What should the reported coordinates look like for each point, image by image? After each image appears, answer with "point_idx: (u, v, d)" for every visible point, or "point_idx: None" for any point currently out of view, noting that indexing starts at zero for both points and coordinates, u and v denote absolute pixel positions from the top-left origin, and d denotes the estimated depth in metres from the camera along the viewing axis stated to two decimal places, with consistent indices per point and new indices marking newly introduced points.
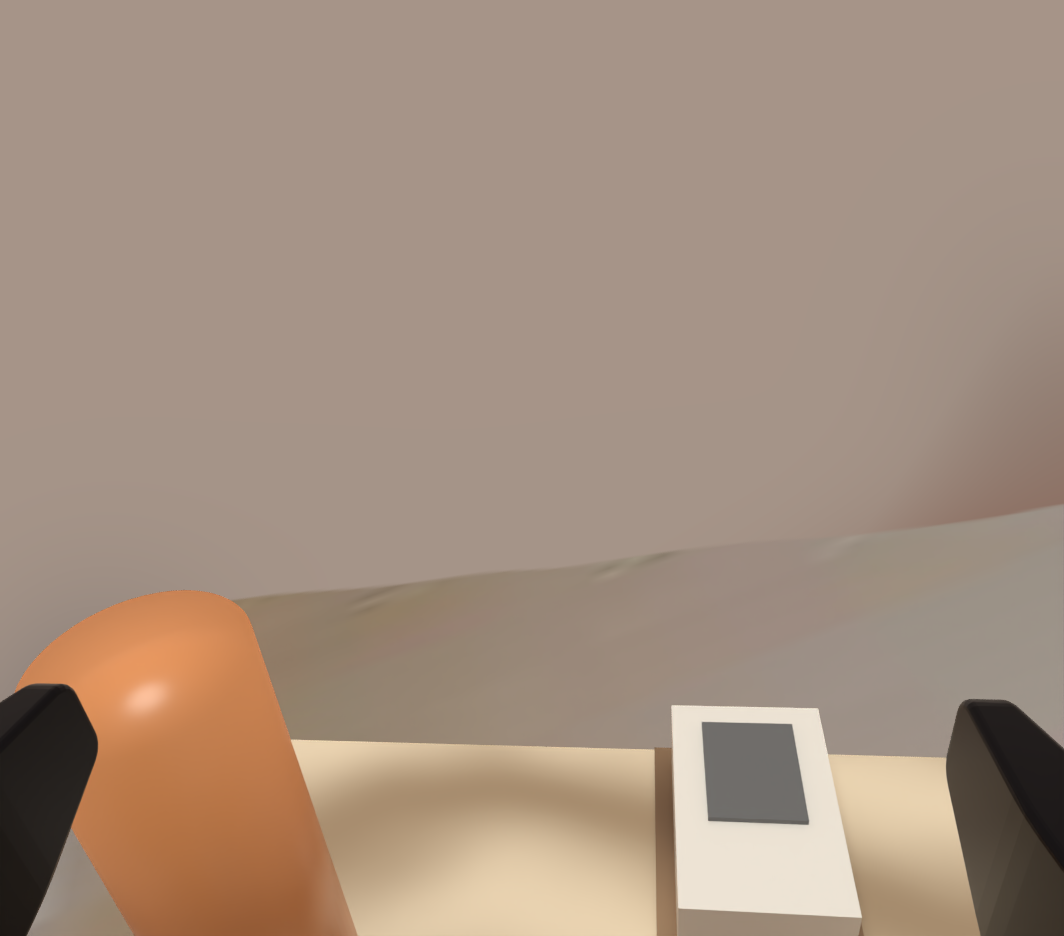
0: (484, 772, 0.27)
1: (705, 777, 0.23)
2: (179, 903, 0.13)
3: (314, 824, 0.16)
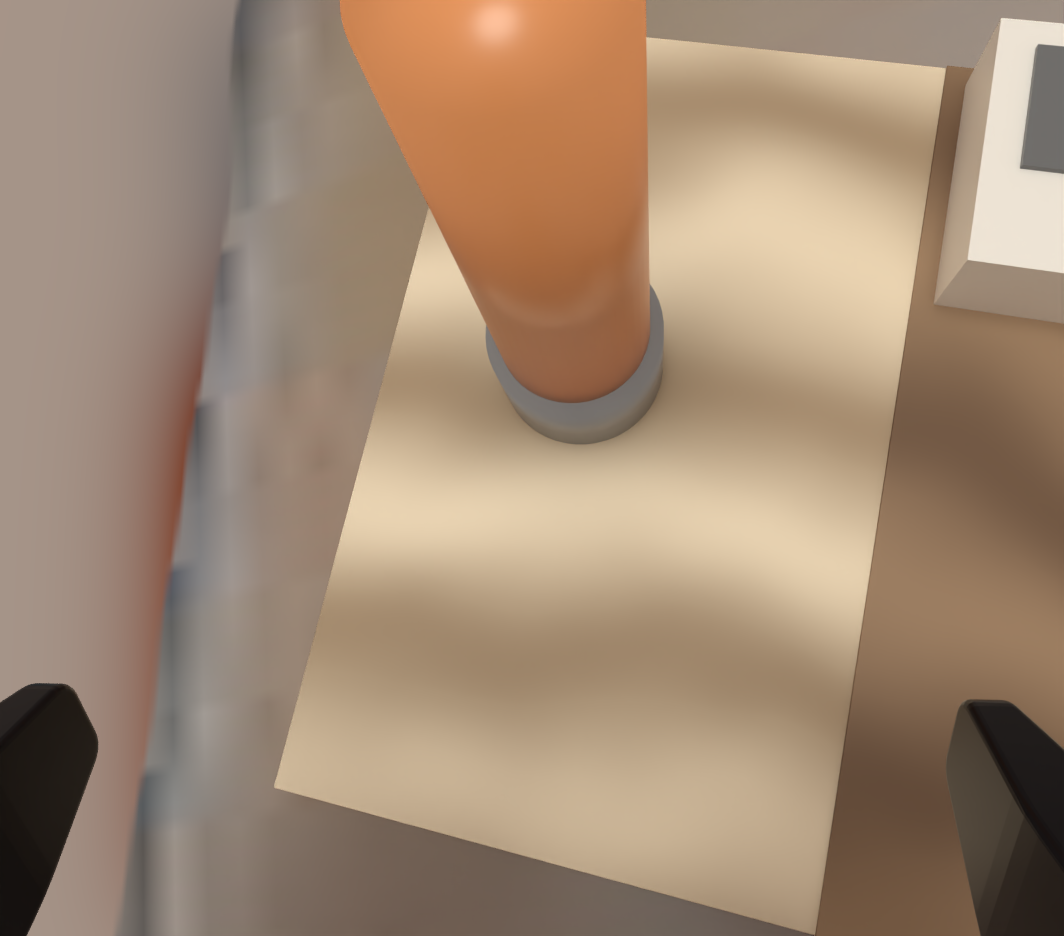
0: (738, 81, 0.23)
1: (1027, 116, 0.19)
2: (530, 254, 0.13)
3: None
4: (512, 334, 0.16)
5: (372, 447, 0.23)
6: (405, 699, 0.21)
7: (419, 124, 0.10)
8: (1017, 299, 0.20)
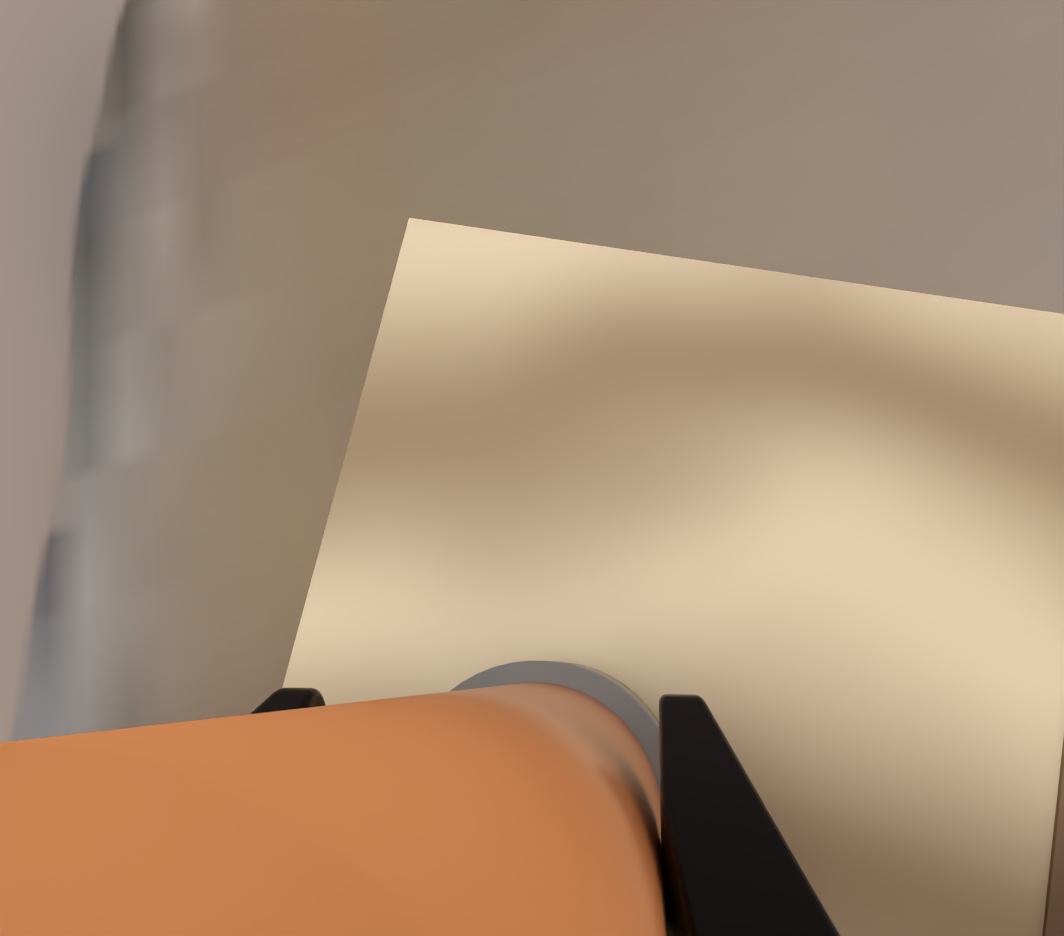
0: (791, 328, 0.16)
1: None
2: None
3: None
4: None
5: None
6: None
7: None
8: None
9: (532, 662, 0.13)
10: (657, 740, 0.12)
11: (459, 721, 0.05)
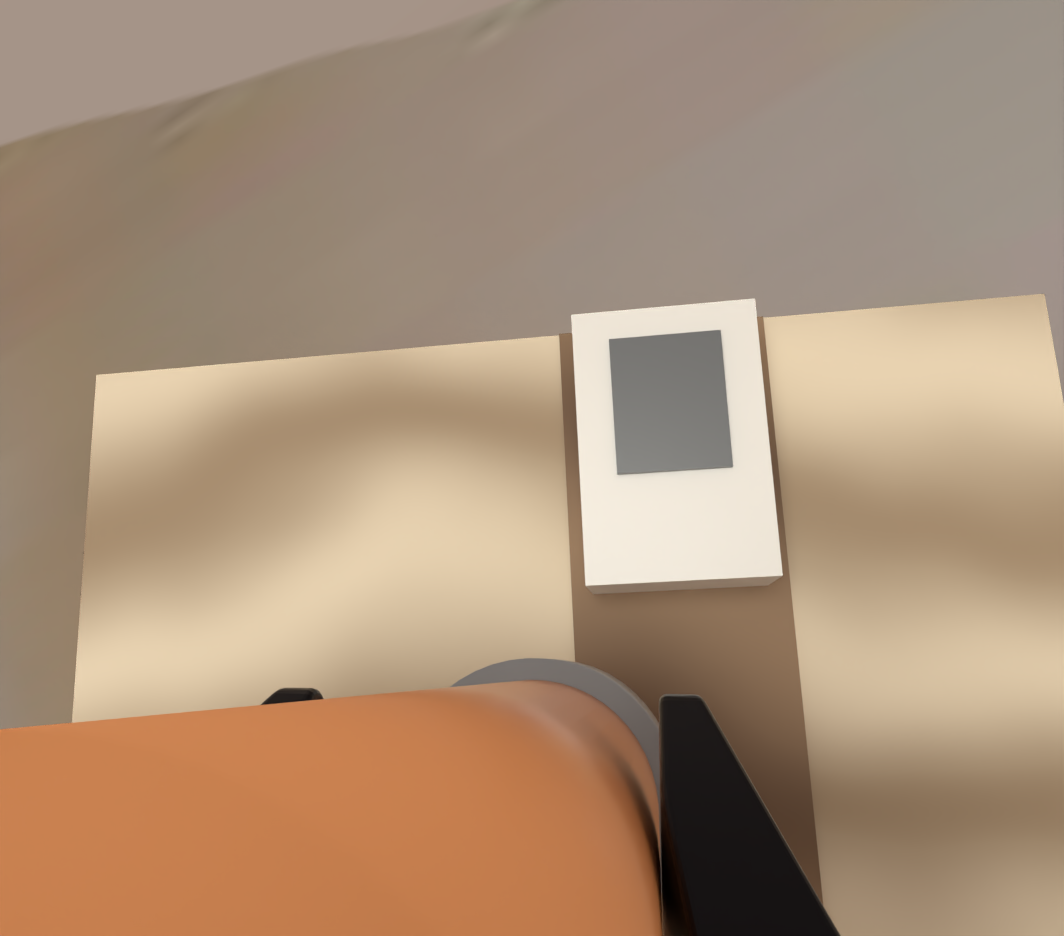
0: (363, 389, 0.23)
1: (613, 419, 0.19)
2: None
3: None
4: None
5: None
6: None
7: None
8: (661, 587, 0.20)
9: (530, 660, 0.13)
10: (654, 737, 0.12)
11: (454, 715, 0.05)
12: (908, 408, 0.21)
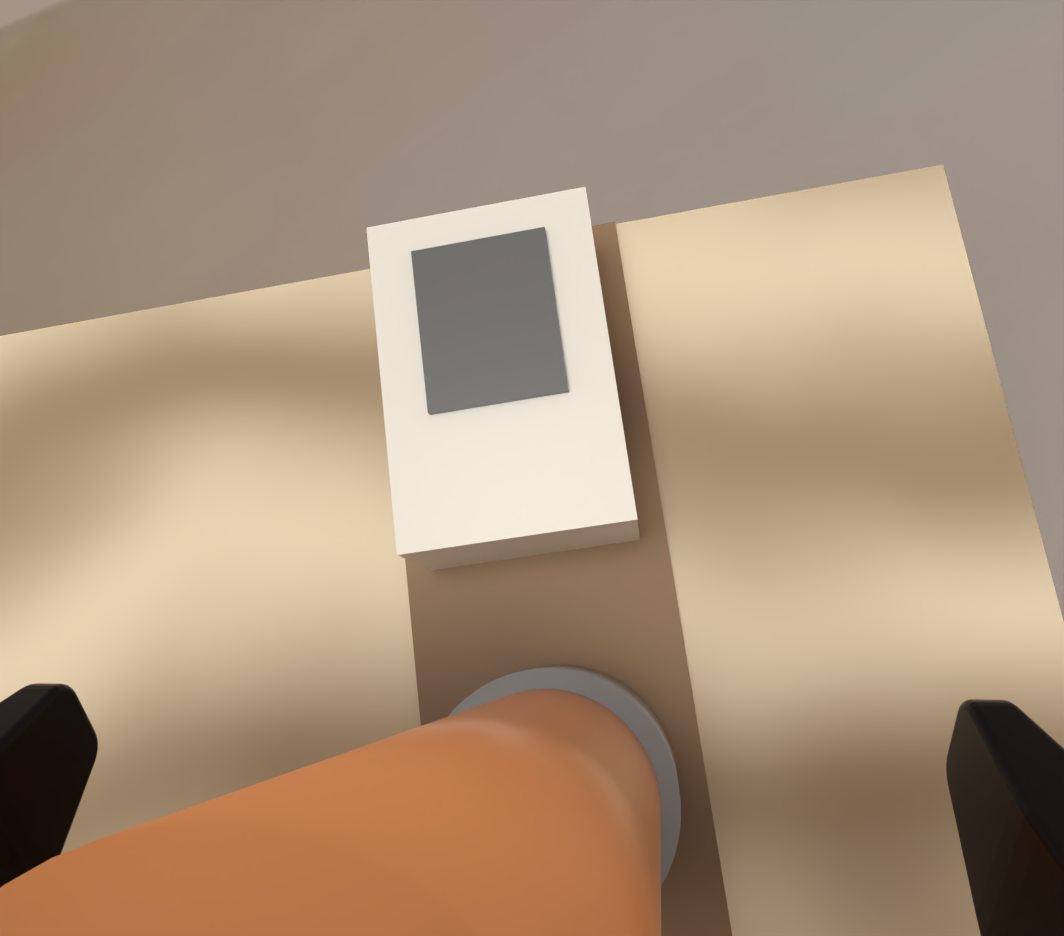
0: (152, 352, 0.19)
1: (421, 347, 0.15)
2: None
3: None
4: None
5: None
6: None
7: None
8: (504, 552, 0.16)
9: (542, 670, 0.14)
10: (657, 741, 0.13)
11: (491, 759, 0.06)
12: (793, 313, 0.17)
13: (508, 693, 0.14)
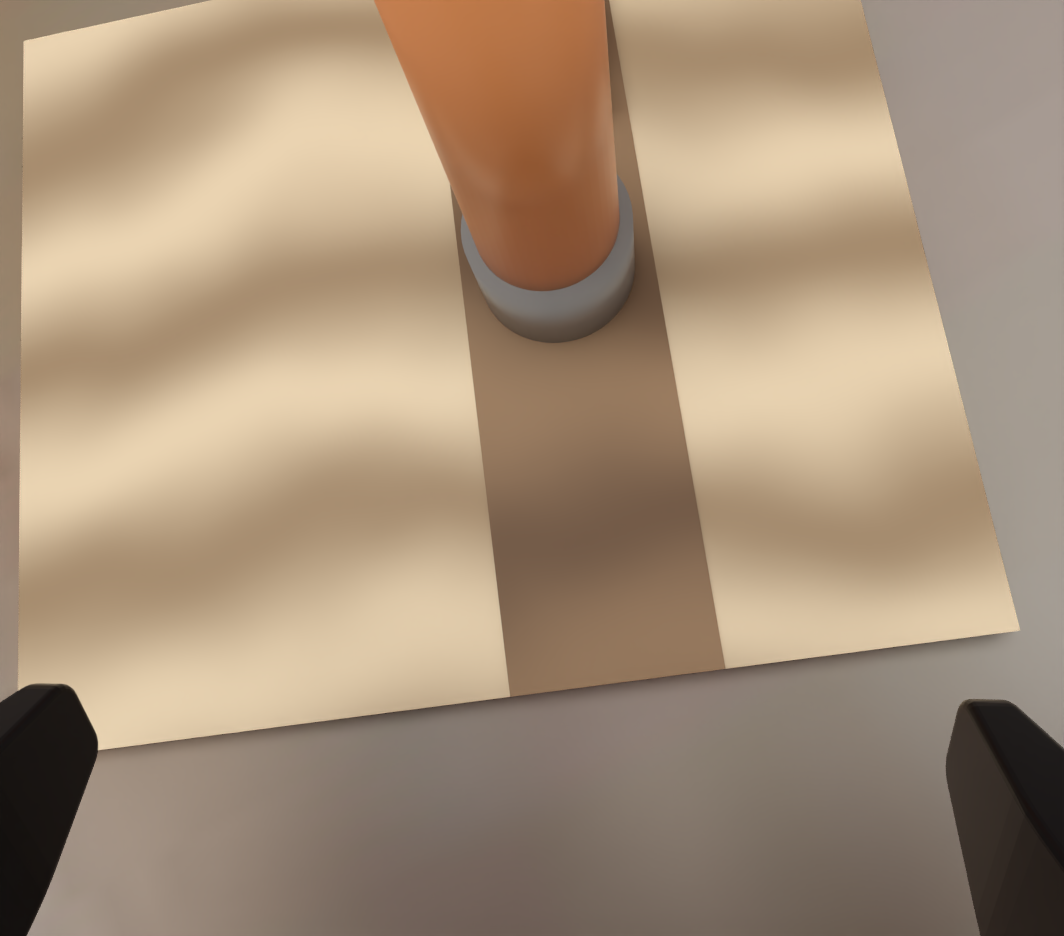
0: (258, 19, 0.26)
1: None
2: (491, 92, 0.13)
3: None
4: (481, 202, 0.17)
5: (27, 434, 0.24)
6: (113, 638, 0.23)
7: None
8: None
9: None
10: (617, 179, 0.21)
11: None
12: None
13: None
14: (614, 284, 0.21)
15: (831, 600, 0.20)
